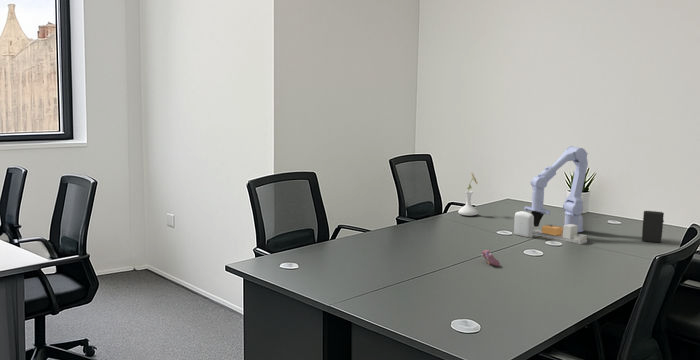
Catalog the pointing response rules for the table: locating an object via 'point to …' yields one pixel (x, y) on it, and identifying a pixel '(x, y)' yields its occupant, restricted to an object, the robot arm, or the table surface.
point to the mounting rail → (577, 238)
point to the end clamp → (552, 229)
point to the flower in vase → (468, 208)
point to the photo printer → (523, 224)
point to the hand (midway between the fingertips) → (536, 226)
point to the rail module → (569, 231)
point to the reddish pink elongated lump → (490, 258)
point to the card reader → (652, 226)
